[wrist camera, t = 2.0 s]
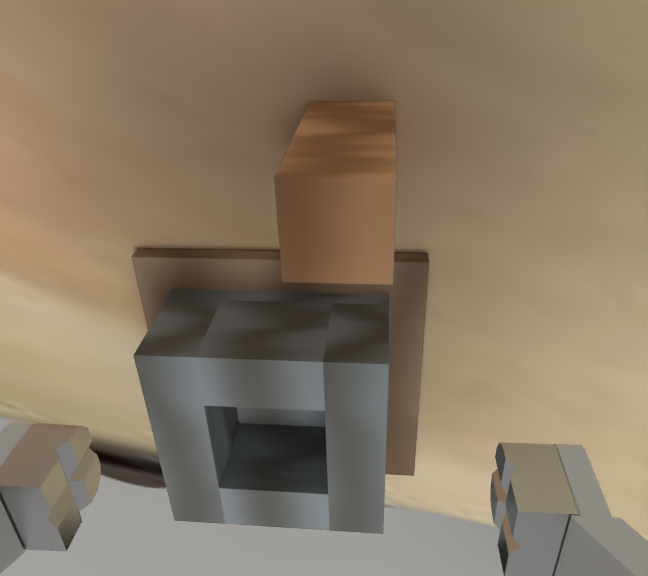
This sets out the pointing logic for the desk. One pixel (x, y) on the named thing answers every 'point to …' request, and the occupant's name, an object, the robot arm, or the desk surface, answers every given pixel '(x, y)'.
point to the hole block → (279, 387)
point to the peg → (339, 195)
